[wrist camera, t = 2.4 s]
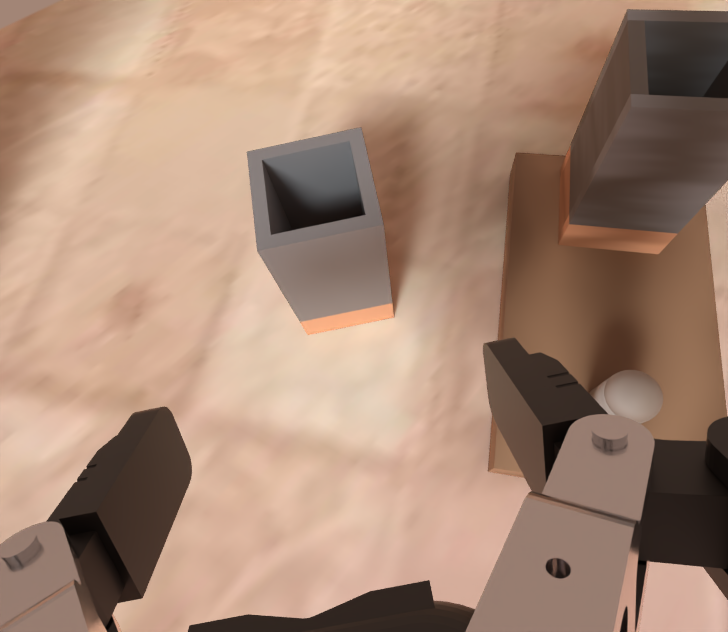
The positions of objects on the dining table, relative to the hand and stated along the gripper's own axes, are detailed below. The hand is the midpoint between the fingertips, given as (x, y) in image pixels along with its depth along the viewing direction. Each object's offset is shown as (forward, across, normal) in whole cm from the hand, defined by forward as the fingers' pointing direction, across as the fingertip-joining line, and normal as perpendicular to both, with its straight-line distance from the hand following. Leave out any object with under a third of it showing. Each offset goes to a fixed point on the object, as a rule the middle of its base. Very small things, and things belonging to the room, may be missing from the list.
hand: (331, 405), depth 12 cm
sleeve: (+16, 0, +2) cm, 17 cm away
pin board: (+13, -13, +6) cm, 19 cm away
